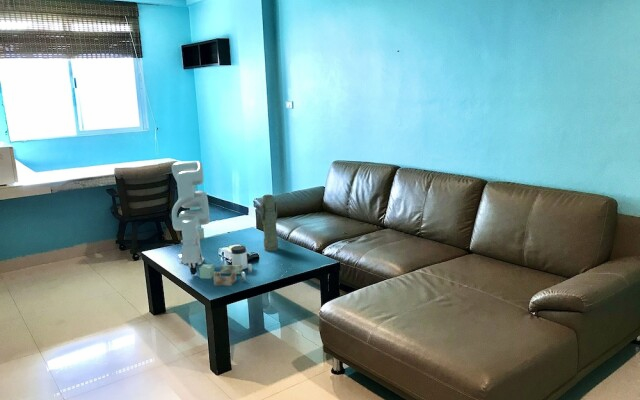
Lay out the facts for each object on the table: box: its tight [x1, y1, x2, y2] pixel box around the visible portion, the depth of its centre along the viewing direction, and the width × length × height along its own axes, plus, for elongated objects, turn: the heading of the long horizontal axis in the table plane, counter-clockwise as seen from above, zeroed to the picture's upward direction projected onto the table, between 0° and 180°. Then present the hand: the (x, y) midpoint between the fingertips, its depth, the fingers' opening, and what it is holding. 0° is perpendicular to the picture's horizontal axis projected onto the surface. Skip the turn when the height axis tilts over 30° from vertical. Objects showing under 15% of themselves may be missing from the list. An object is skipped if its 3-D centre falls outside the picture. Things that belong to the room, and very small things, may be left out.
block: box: [198, 263, 216, 279], centre depth 270 cm, size 6×6×6 cm
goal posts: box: [240, 263, 253, 283], centre depth 267 cm, size 2×14×5 cm, turn 171°
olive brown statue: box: [259, 194, 279, 253], centre depth 309 cm, size 9×12×35 cm
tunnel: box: [212, 264, 243, 286], centre depth 266 cm, size 12×18×4 cm, turn 171°
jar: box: [230, 245, 248, 271], centre depth 281 cm, size 9×8×12 cm
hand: (193, 273), depth 272 cm, fingers closed
